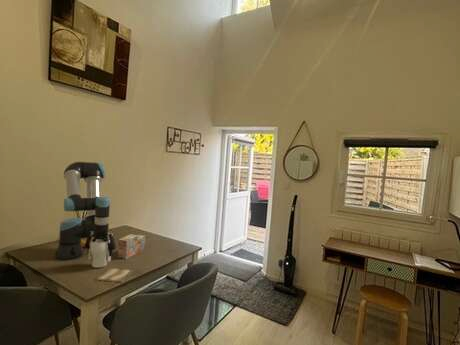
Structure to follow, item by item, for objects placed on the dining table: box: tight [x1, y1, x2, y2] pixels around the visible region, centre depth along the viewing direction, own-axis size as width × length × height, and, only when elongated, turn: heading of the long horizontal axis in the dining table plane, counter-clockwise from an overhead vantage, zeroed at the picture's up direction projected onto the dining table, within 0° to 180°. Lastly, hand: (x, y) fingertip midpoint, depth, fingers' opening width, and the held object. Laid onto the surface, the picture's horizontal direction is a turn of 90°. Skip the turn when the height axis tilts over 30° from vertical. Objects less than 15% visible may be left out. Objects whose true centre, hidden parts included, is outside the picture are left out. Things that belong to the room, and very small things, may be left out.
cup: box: [89, 238, 110, 269], centre depth 148 cm, size 11×11×15 cm
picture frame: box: [94, 267, 134, 283], centre depth 139 cm, size 14×14×1 cm
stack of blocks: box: [117, 234, 147, 260], centre depth 172 cm, size 21×6×12 cm, turn 165°
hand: (99, 259), depth 149 cm, fingers closed on cup, 10 cm apart
